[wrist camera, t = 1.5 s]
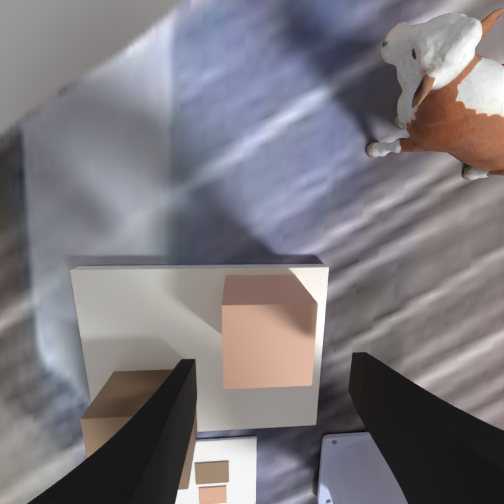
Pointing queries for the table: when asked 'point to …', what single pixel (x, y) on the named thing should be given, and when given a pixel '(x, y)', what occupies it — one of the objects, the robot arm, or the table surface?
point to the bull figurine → (448, 92)
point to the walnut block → (127, 411)
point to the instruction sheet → (222, 472)
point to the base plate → (187, 336)
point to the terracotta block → (267, 332)
